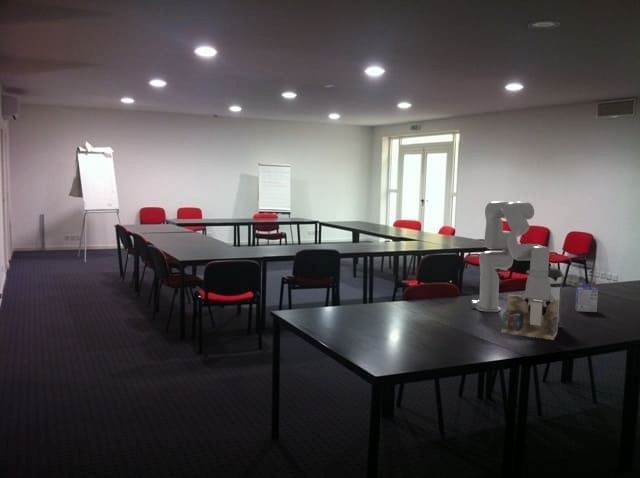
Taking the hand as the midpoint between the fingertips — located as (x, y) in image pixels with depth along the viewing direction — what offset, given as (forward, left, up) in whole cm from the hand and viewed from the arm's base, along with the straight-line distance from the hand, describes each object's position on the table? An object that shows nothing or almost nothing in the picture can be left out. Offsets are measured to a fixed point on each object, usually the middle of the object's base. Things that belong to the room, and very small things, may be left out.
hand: (537, 313), depth 242 cm
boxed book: (0, 0, -4) cm, 4 cm away
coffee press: (0, +22, -10) cm, 24 cm away
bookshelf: (-3, +1, -9) cm, 10 cm away
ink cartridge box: (+15, +63, -10) cm, 65 cm away
